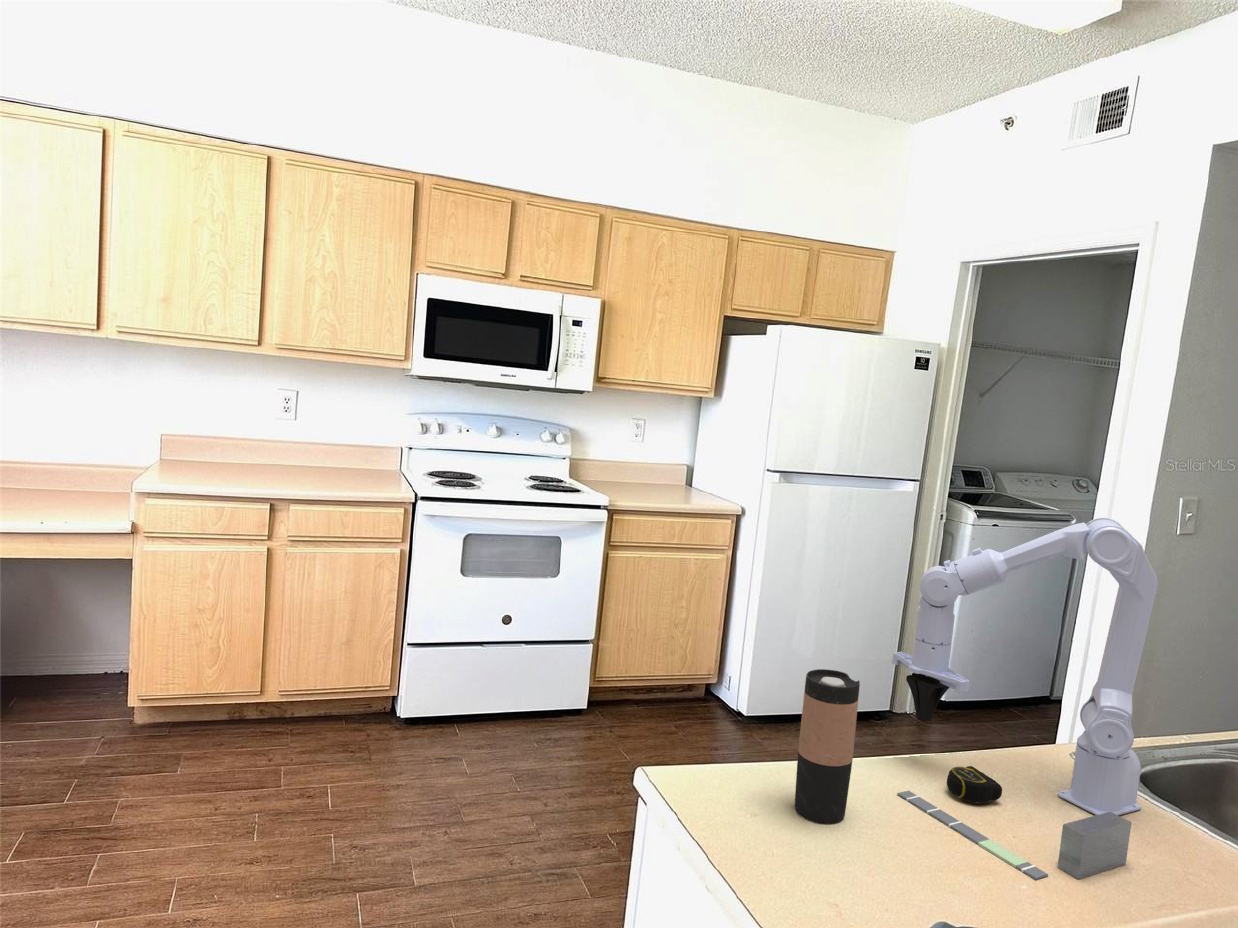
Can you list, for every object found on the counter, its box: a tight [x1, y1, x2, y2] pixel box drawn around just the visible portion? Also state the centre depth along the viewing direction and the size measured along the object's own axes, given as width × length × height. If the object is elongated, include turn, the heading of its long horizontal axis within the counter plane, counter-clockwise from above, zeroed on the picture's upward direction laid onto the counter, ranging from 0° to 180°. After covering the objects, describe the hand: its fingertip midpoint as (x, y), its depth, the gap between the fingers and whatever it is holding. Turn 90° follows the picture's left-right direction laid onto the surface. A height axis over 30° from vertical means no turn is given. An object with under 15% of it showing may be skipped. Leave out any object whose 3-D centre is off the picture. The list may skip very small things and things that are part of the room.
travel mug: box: [794, 668, 861, 825], centre depth 125 cm, size 8×8×20 cm
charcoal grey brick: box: [1057, 812, 1132, 880], centre depth 117 cm, size 10×4×6 cm, turn 118°
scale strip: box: [896, 790, 1049, 881], centre depth 123 cm, size 2×24×1 cm, turn 28°
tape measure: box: [946, 765, 1003, 804], centre depth 134 cm, size 7×7×4 cm
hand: (923, 719), depth 144 cm, fingers closed
